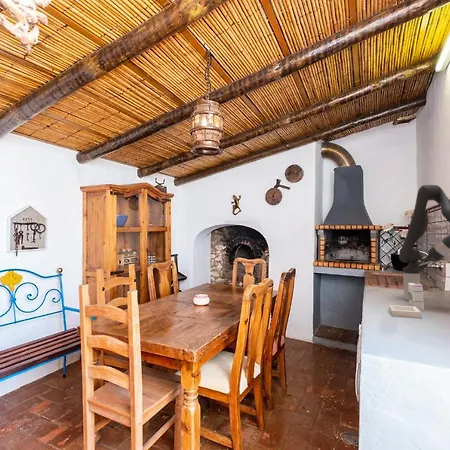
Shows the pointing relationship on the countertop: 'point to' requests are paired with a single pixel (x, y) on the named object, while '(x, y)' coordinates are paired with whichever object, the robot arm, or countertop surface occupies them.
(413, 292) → the syrup box
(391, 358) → the countertop surface
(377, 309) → the countertop surface
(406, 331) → the countertop surface
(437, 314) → the countertop surface
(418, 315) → the square stand
